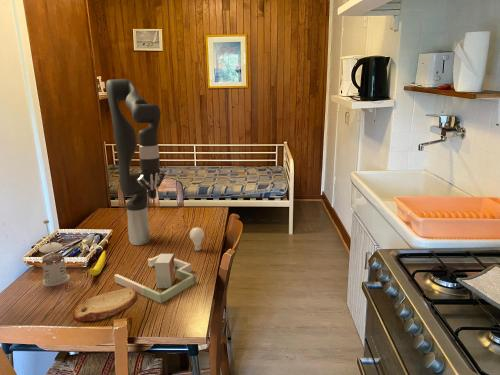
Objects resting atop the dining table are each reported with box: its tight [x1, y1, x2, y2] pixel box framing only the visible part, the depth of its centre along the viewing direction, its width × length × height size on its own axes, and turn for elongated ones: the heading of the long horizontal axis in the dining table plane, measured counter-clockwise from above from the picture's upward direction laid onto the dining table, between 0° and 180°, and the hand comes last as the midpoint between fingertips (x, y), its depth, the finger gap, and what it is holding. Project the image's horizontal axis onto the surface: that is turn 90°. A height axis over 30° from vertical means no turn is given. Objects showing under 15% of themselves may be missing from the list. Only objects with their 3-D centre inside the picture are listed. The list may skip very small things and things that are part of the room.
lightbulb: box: [189, 226, 205, 252], centre depth 172 cm, size 6×6×11 cm
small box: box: [154, 253, 177, 289], centre depth 145 cm, size 8×6×10 cm
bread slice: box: [72, 287, 138, 323], centre depth 131 cm, size 18×18×4 cm
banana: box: [87, 250, 107, 276], centre depth 155 cm, size 3×19×6 cm, turn 3°
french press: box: [38, 219, 71, 287], centre depth 148 cm, size 10×12×25 cm
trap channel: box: [113, 254, 197, 304], centre depth 149 cm, size 26×23×3 cm
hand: (152, 198), depth 155 cm, fingers closed
